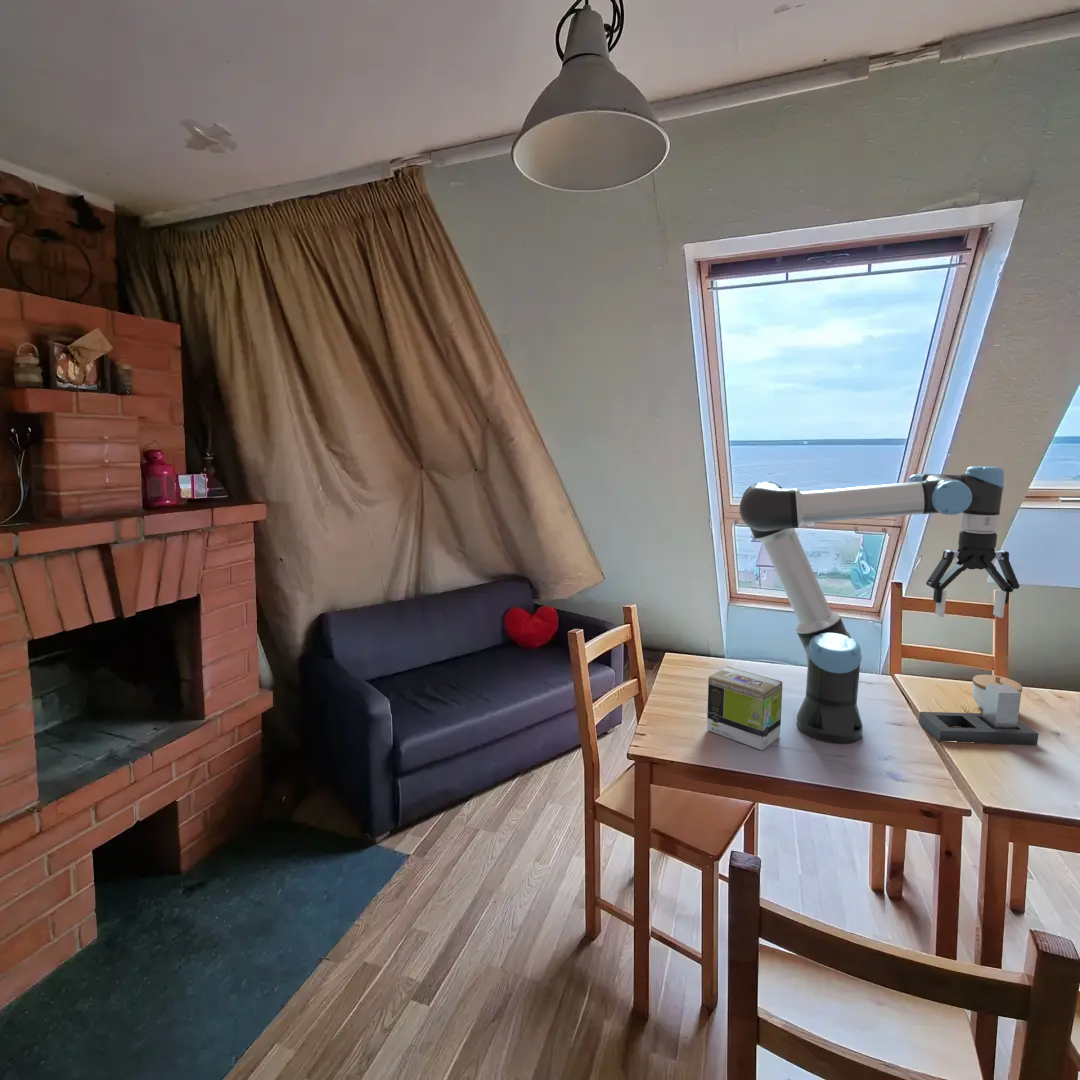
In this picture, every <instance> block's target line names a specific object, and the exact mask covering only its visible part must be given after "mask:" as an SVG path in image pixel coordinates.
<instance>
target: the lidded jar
mask: <svg viewBox="0 0 1080 1080" xmlns="http://www.w3.org/2000/svg"><path fill="white" fill-rule="evenodd" d="M986 684H993V685H1009V686H1010V687H1012V688H1014V689H1015V690H1017V691H1018V692H1020V693H1021V694H1022V692H1023V686H1022V684H1020V683H1019V682H1017V681H1016V680H1013V679H1011V678H1007V677H1005V676H1004V677H1003V676H999V675H993V674H977V675H975V676H973V677H972V690H971V691H972V696H973V699H974V701H975V703H977V705H978V706H979V707H980V709H981V710H982V711H983V707H984V699H985V691H986Z"/></svg>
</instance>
